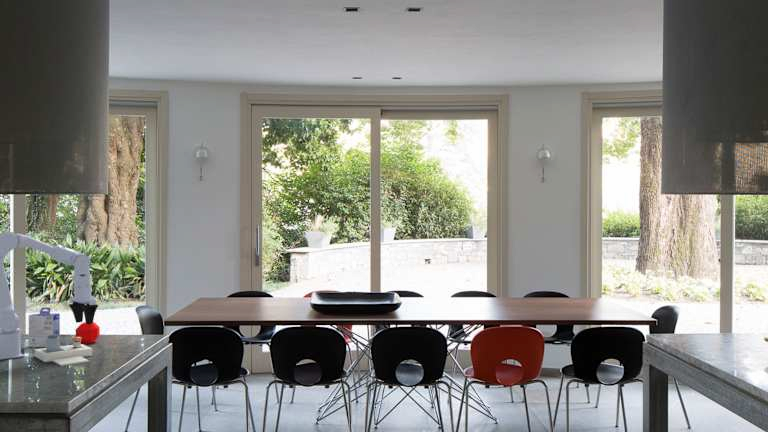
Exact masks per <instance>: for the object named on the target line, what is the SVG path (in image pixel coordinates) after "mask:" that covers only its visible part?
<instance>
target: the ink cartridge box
mask: <svg viewBox="0 0 768 432" xmlns="http://www.w3.org/2000/svg"><path fill="white" fill-rule="evenodd" d="M45 310H46V311H45ZM60 316H61V315H60V313H56V312H55V313H51V307H41V308H40V310H39V313H33V314H29V315H28V343H27V345H28V348H46V338H47V337H48V335H58V337H60V338H61V334H60V333H61V332H60V330H61V328H60V323H61V322H60V321H61V319H60Z"/></svg>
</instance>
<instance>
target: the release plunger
mask: <svg viewBox="0 0 768 432" xmlns="http://www.w3.org/2000/svg"><path fill="white" fill-rule="evenodd" d="M81 340H82V337H76V336H73V337H71V341H72V345H73V349H75V348H81Z"/></svg>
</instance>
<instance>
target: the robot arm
mask: <svg viewBox="0 0 768 432" xmlns="http://www.w3.org/2000/svg"><path fill="white" fill-rule="evenodd" d="M17 246H18V248H19V249H20V248H31V249H33V250H36V251H39V252H42V253H45V254H48V255H50V257H51V259H52V260H53V261H56V262H59V263H62V264H64V265H67V266H73V292H74V294H73V295H74V296H72V297H70V302H71V303H68V306H69V308H70V310H71V312H72V314H73V316H74V320H75V323H77V324H78V323H83V321H84V320H85V321H84V322H86V324H87V325H88V324H93V322H94V319H95V316H96V315H95V314H96V311H97V309H98V308H99V304H97V303H96V302H97V301H96V298H95V297H94V296H92V279H91V278H92V277H91V273H90V271H91V268H90V266H91V264H92V262H91V259H90V257H89V256H88V255H87V254H85V253H83V252H80V251H79V250H77V249H76V250H73V249H71V248H68V247H67V245H66V244H62V245H61V244H57V245H55V246H53V245H51V244H48V243H46V242H44V241H41V240H38V239H36V238H34V237H31V236H29V235H25V234H22V233H15V232H13V231H4V232H2V233H0V360H8V359H15V358H22V357H23V358H24V357H25V354H23V353H22V347H21V346H22V343H21V342H22V339H21V338H22V337H21V335H22V334H21V333H22V331H21V330H22V329H21V328H19V326H20V317H19V315H18V314H17V312H16V311H15V307H14V304H13V301H12V295H11V292H10V288H9V282H8V280H7V279H8V278H7V275H6V271H5V266H4V261H3V260H4V258H5V257H6V256H7V255H8V253H10V252H11V251H12V250H14V249H15V248H16V247H17Z"/></svg>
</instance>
